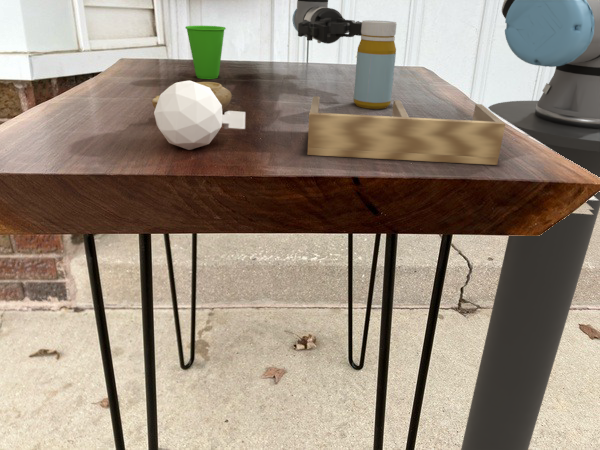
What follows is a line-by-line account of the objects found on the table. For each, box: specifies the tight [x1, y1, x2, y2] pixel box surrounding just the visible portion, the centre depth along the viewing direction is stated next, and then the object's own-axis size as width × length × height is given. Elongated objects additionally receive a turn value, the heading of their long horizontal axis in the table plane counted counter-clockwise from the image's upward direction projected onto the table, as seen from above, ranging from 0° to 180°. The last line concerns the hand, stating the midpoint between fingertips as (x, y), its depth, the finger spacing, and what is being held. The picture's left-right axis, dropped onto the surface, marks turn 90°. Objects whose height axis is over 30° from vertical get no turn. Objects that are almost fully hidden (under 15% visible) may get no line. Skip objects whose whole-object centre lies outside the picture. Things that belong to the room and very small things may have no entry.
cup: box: [185, 25, 227, 80], centre depth 121 cm, size 9×9×11 cm
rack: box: [306, 95, 506, 166], centre depth 74 cm, size 25×12×6 cm, turn 86°
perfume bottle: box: [153, 79, 246, 151], centre depth 71 cm, size 9×9×12 cm
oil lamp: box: [151, 81, 233, 110], centre depth 86 cm, size 11×14×5 cm
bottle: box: [353, 19, 397, 110], centre depth 98 cm, size 7×7×15 cm
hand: (358, 34), depth 104 cm, fingers open, 13 cm apart
